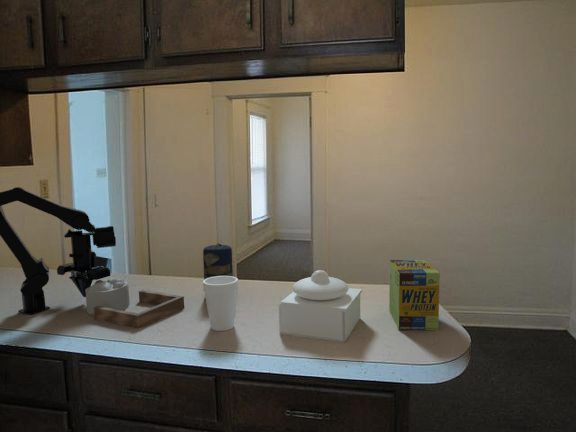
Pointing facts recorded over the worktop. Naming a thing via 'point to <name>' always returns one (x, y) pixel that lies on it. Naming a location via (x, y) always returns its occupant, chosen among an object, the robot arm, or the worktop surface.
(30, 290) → the robot arm
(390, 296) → the protein box
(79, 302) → the worktop surface
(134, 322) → the bay
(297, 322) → the white lidded box
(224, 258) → the canister
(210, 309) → the foam cup
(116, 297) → the lumpy-topped squat cylinder
